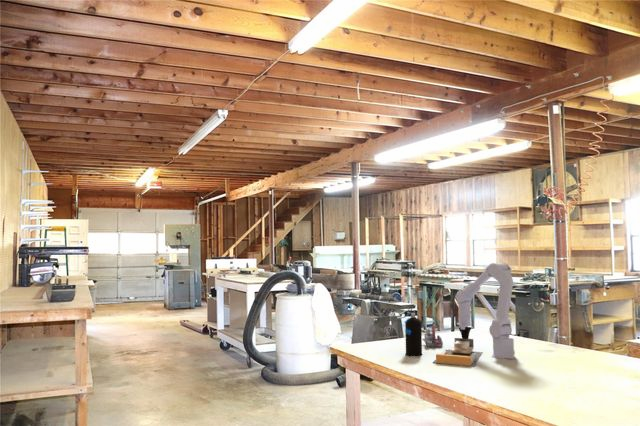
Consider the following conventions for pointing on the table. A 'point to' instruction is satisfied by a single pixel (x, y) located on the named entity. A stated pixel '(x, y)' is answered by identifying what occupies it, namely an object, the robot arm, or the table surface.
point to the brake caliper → (432, 339)
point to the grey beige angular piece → (463, 346)
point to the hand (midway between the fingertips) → (465, 341)
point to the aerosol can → (413, 336)
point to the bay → (458, 358)
